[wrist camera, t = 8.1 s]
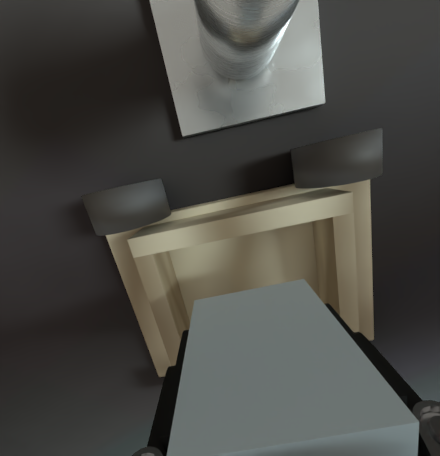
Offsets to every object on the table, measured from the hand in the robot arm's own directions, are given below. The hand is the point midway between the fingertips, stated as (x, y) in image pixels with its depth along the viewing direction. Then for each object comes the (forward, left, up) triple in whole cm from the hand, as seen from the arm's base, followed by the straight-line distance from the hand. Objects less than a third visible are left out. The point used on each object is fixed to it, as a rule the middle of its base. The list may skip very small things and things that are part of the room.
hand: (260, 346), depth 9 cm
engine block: (0, 0, -1) cm, 1 cm away
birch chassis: (0, 0, -6) cm, 6 cm away
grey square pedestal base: (-2, -14, -6) cm, 15 cm away
